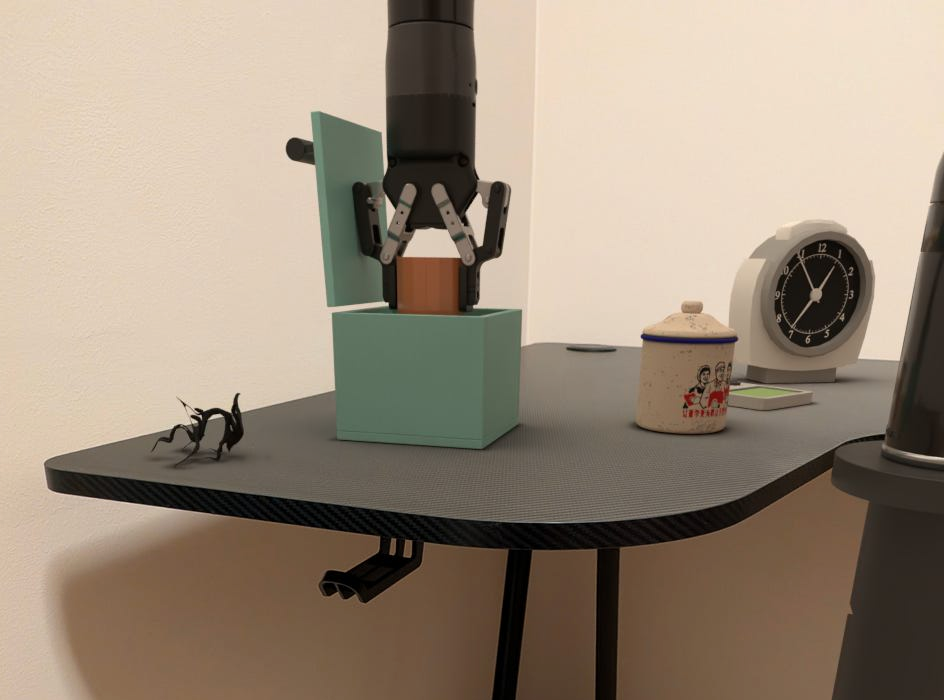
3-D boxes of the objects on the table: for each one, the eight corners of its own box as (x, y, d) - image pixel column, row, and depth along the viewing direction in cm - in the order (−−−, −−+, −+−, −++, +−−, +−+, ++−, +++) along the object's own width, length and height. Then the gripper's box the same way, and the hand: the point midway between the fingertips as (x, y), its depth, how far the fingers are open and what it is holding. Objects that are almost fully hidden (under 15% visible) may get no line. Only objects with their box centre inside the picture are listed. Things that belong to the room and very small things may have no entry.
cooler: (518, 424, 90) (522, 309, 86) (482, 449, 78) (484, 317, 74) (390, 416, 94) (388, 305, 90) (336, 439, 82) (331, 312, 78)
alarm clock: (746, 385, 120) (768, 217, 112) (715, 377, 128) (734, 219, 120) (865, 382, 124) (894, 220, 116) (828, 375, 132) (853, 221, 124)
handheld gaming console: (709, 376, 116) (816, 388, 105) (708, 388, 116) (813, 402, 106) (658, 381, 110) (766, 395, 99) (657, 395, 111) (764, 410, 100)
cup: (471, 350, 85) (472, 257, 82) (452, 356, 80) (453, 257, 77) (410, 347, 87) (409, 257, 83) (388, 353, 81) (386, 256, 78)
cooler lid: (381, 132, 84) (328, 136, 85) (319, 110, 72) (258, 116, 73) (391, 300, 89) (341, 301, 91) (335, 306, 77) (278, 308, 79)
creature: (153, 483, 70) (253, 457, 71) (128, 414, 68) (232, 388, 69) (164, 462, 77) (255, 439, 78) (141, 399, 75) (236, 376, 76)
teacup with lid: (691, 438, 84) (706, 304, 79) (614, 425, 90) (623, 300, 85) (761, 424, 91) (777, 301, 87) (685, 413, 98) (697, 298, 93)
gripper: (332, 91, 74) (340, 310, 80) (504, 85, 70) (498, 315, 77) (367, 105, 80) (372, 306, 87) (525, 100, 77) (518, 311, 83)
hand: (431, 309), depth 82 cm, fingers closed on cup, 6 cm apart
